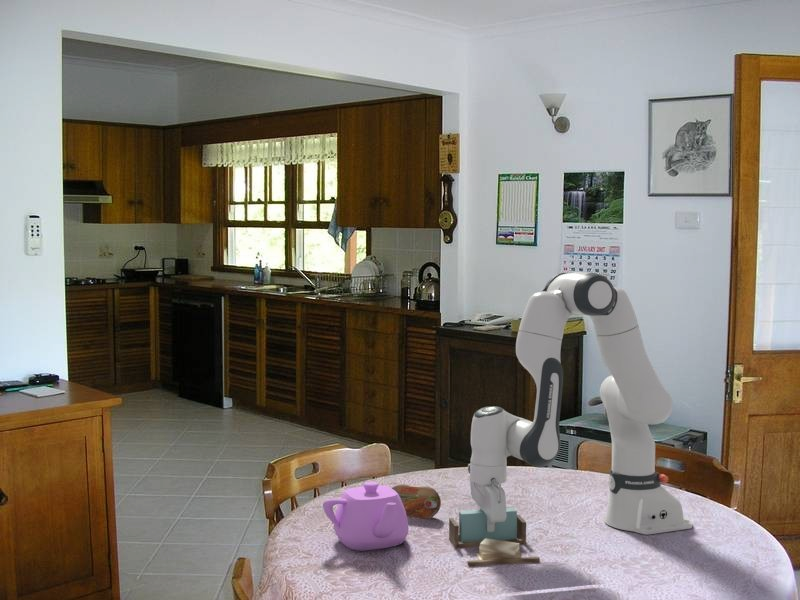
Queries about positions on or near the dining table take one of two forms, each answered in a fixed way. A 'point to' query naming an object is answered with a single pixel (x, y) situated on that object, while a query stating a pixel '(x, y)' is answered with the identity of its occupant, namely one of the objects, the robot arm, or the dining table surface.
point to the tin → (419, 500)
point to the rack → (520, 539)
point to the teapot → (368, 517)
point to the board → (475, 526)
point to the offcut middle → (497, 555)
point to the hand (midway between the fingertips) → (487, 528)
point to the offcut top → (499, 546)
